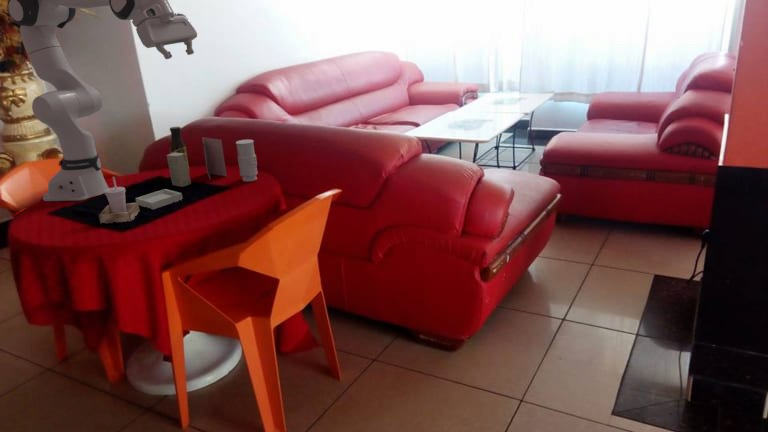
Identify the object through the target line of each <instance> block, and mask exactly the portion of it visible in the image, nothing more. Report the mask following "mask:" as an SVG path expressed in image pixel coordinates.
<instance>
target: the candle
mask: <svg viewBox="0 0 768 432" xmlns="http://www.w3.org/2000/svg"><path fill="white" fill-rule="evenodd" d="M254 142H255V141H254V140H253V139H241V140H237V141H235V144H236V148H237V149H236V150H237V162H238V167H239V175H240V176H241V177H242V179H241V181H242V180H243V181H242V182H253V181H256V180H257V179H258V177H257V175H258V173H259V172H258V168H257V166H258V162H257V154H255V146H254Z"/></svg>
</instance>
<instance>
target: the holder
mask: <svg viewBox="0 0 768 432" xmlns="http://www.w3.org/2000/svg"><path fill="white" fill-rule="evenodd" d="M139 206H140V205H138V203H136V202H131V203H130V202H129V203H126V212H122V213H113V212H112V210H111V207H110V204H107V206H105V207H104V209H102V211H101V212H100V213H99V214H98V219H99V223H100V225H102V223H105V224H113V222H116V223H123V222H125V223H126V222H127V221H128V222H133V221H134V220H135V218H136V217H137V215H138V214H139V213H138V212H140V207H139ZM135 216H136V217H135ZM132 220H133V221H132Z"/></svg>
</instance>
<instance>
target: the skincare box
mask: <svg viewBox="0 0 768 432" xmlns="http://www.w3.org/2000/svg"><path fill="white" fill-rule="evenodd" d="M166 159H167V164H168V169H169V175H170V179H171V183H172V186H176V187H183V188H184V187H186V186H189V185H192V181H191V177H190V169H189V170H188V165H189V163H188V164H187V159H186V154H184V153H172V154H171V153H169V154H166Z"/></svg>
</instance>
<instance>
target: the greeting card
mask: <svg viewBox="0 0 768 432" xmlns="http://www.w3.org/2000/svg"><path fill="white" fill-rule="evenodd" d="M201 140H202V143H201V145H202V148H203V152H204V159H205V166H206V172H207V175H208V177H209V179H211V175H216V176H221V175H222V177H227V169H226V164H225V163H226V162H225V156H224V149H223V142H222V139H218V138H210V137H205V136H204V137H201Z"/></svg>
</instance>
